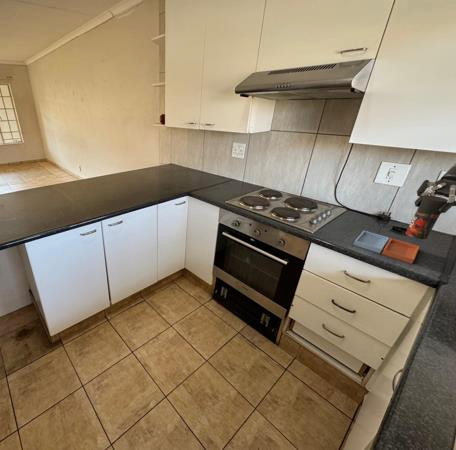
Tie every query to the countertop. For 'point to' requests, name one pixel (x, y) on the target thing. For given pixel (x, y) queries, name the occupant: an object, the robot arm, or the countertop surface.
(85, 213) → the countertop surface
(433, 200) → the deodorant
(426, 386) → the countertop surface
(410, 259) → the terracotta tray
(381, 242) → the blue tray
